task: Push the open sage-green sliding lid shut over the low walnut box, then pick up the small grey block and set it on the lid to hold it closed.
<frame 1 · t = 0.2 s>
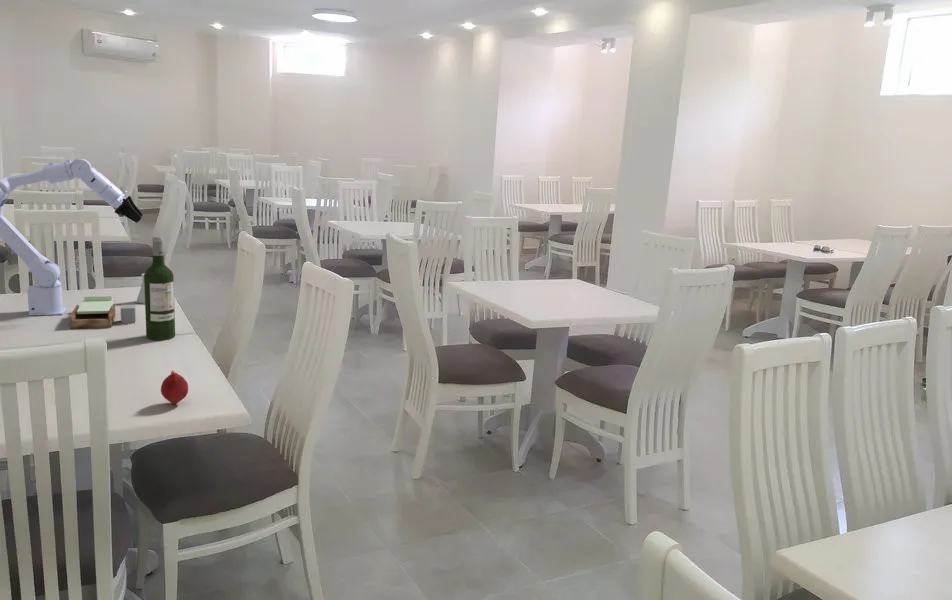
hand: (140, 218, 241), 31 cm above the table, tool tilted 45°, fingers open, 7 cm apart
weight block: (128, 322, 232), on the table
sage lid: (95, 304, 235), point 4 cm above the table, slide at 7.0 cm
onion: (175, 404, 169), on the table
flask: (147, 302, 258), on the table
walnut box: (93, 321, 230), on the table
wine bottle: (160, 337, 219), on the table
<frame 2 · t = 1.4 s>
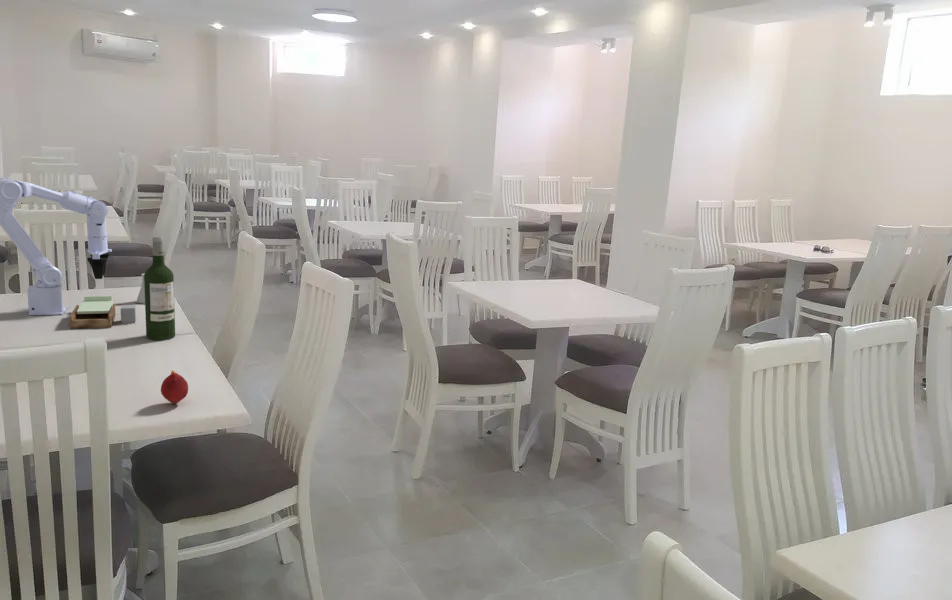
hand: (99, 276, 245), 10 cm above the table, tool pointing down, fingers open, 6 cm apart
nothing on the table moved.
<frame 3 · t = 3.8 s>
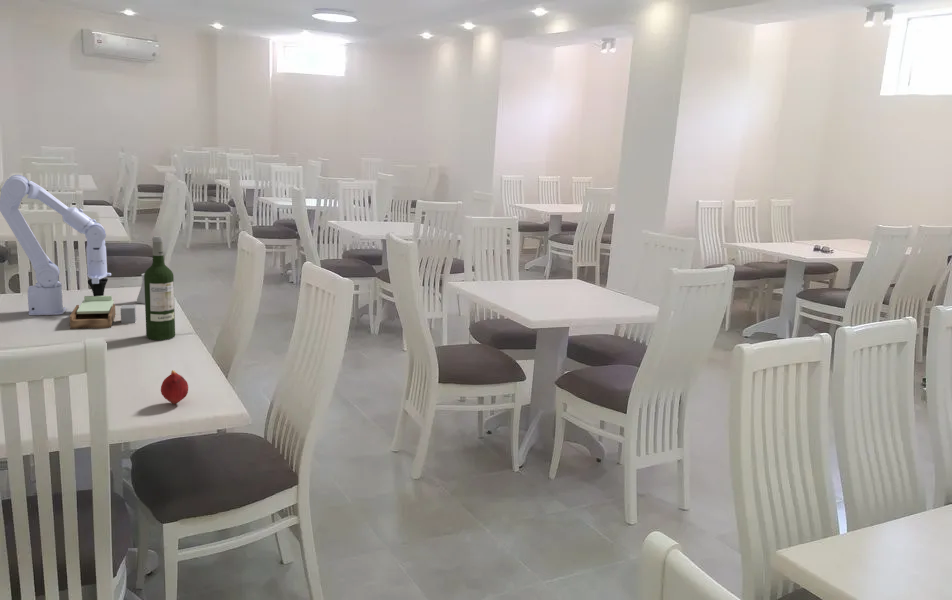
hand: (98, 300, 243), 3 cm above the table, tool pointing down, fingers closed
sage lid: (95, 304, 235), point 4 cm above the table, slide at 7.0 cm, touching gripper
everything else where it was.
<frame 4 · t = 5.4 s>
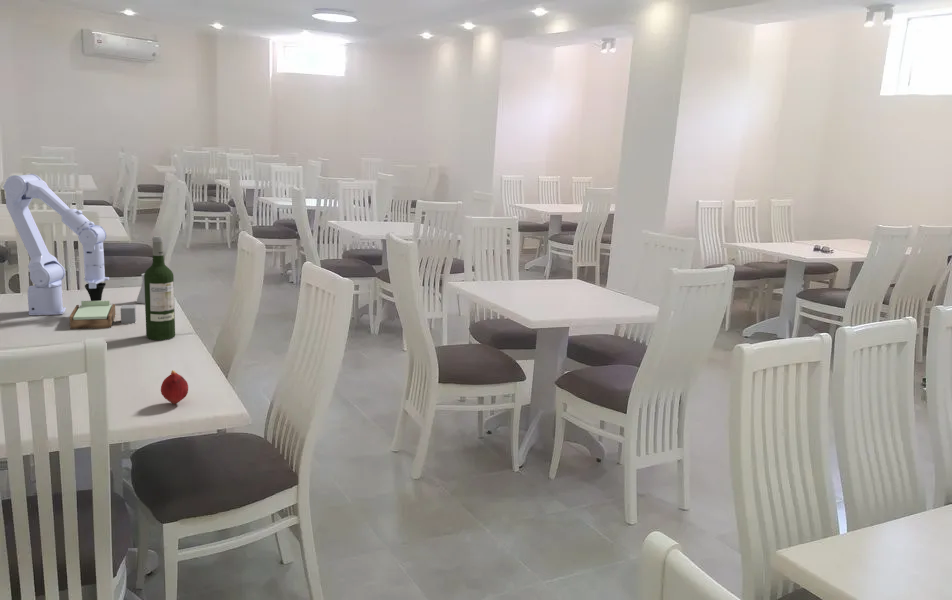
hand: (96, 305, 237), 3 cm above the table, tool pointing down, fingers closed
sage lid: (93, 309, 229), point 4 cm above the table, slide at 0.0 cm, touching gripper
everything else where it was.
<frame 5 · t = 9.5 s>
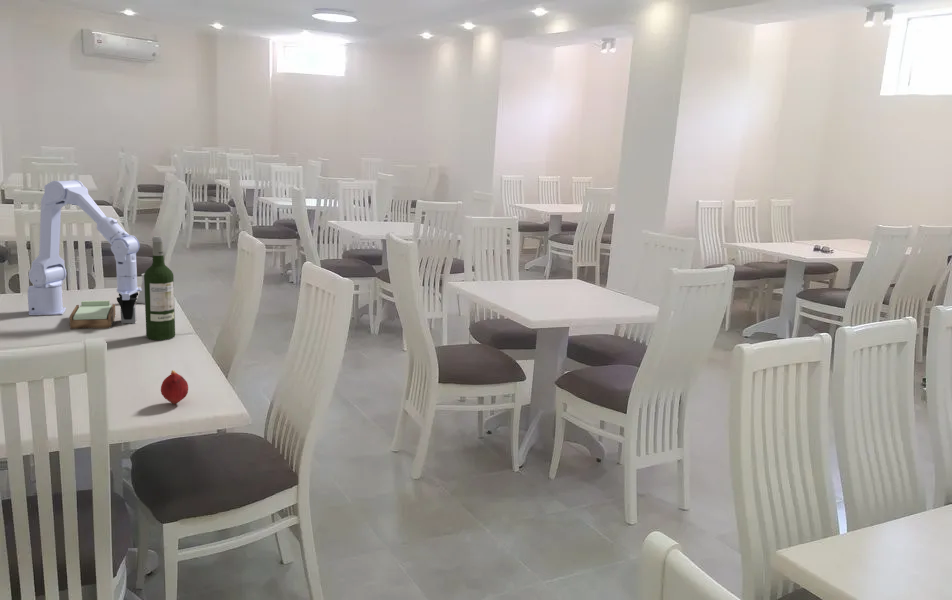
hand: (128, 317, 232), 1 cm above the table, tool pointing down, fingers closed on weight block, 4 cm apart
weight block: (128, 321, 232), on the table, touching gripper
sage lid: (93, 309, 229), point 4 cm above the table, slide at 0.0 cm
everything else where it was.
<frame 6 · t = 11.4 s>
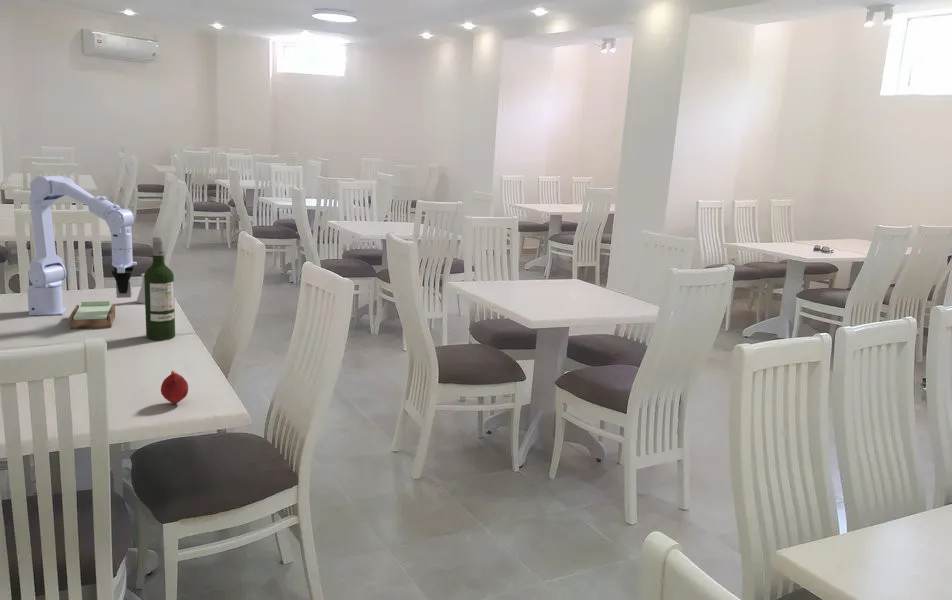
hand: (123, 291, 230), 10 cm above the table, tool pointing down, fingers closed on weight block, 4 cm apart
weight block: (124, 296, 230), point 8 cm above the table, touching gripper
everything else where it was.
when the fingers open (6 cm above the table, at t = 13.2 s): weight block stays where it is, resting on sage lid.
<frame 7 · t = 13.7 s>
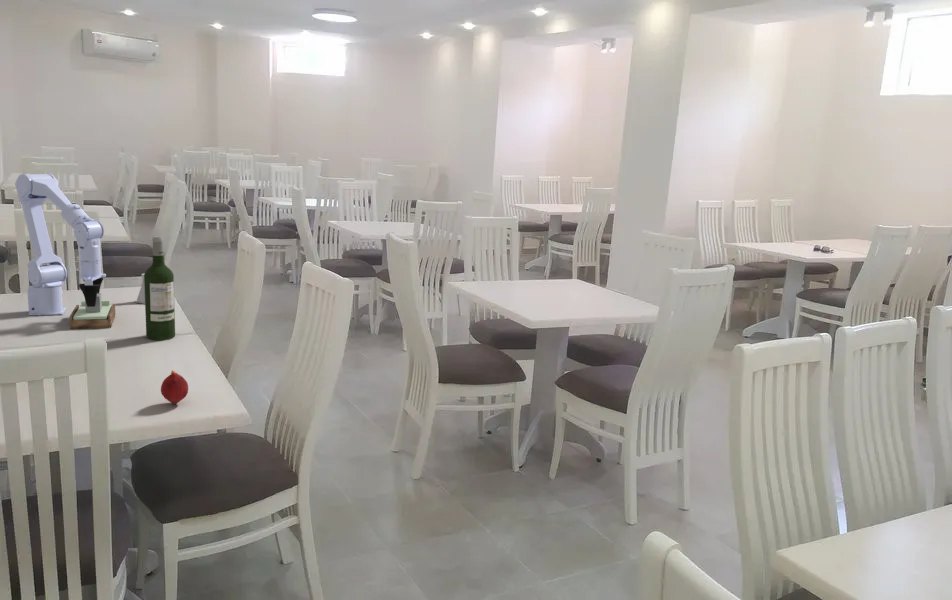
hand: (92, 303, 228), 6 cm above the table, tool pointing down, fingers open, 7 cm apart
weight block: (93, 310, 229), point 4 cm above the table, touching sage lid
sage lid: (93, 309, 229), point 4 cm above the table, slide at 0.0 cm, touching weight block
everything else where it was.
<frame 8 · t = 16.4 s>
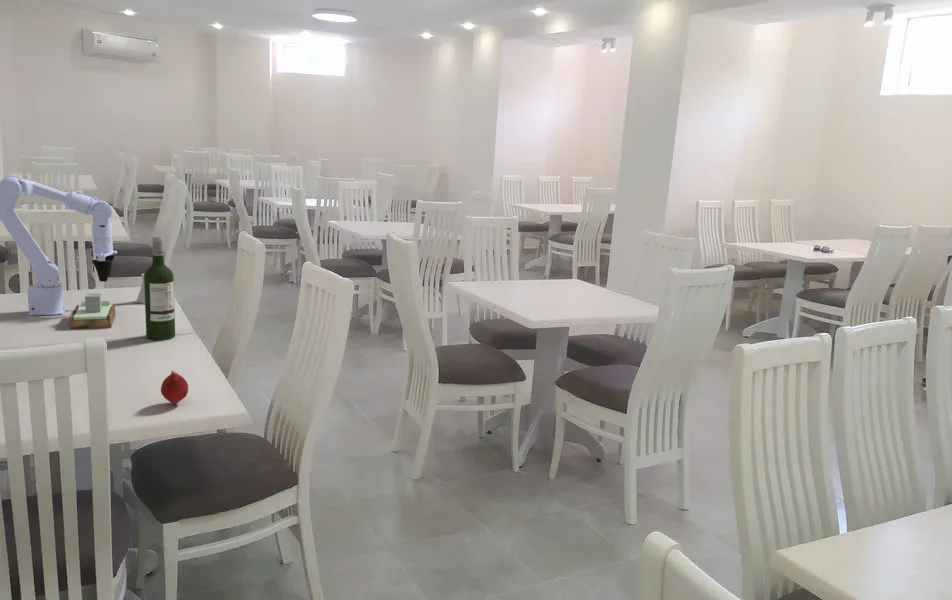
hand: (104, 278, 243), 10 cm above the table, tool pointing down, fingers open, 7 cm apart
nothing on the table moved.
at the end: sage lid slide at 0.0 cm; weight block inside the target area (0.2 cm from its centre), point 3.6 cm above the table; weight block tilted 0° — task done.
